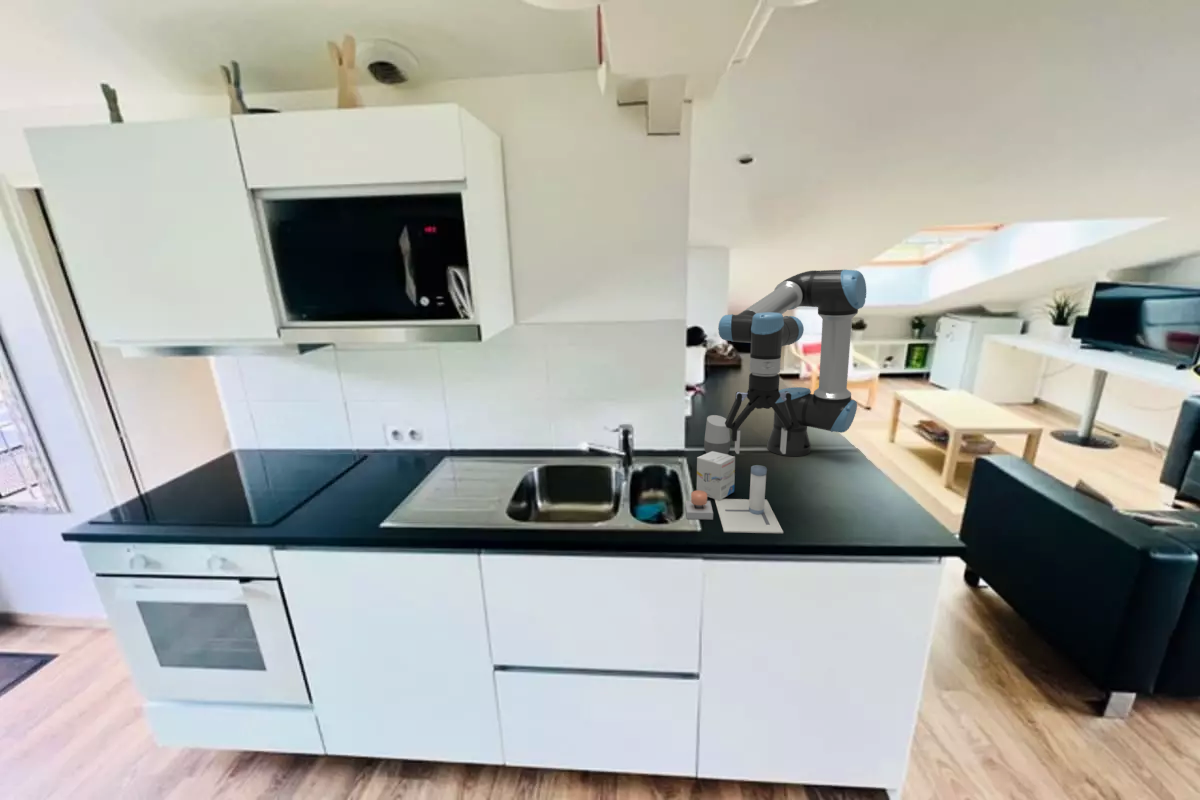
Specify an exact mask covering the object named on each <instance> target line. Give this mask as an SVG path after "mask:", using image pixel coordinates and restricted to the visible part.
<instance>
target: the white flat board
mask: <svg viewBox="0 0 1200 800" xmlns="http://www.w3.org/2000/svg"><path fill="white" fill-rule="evenodd" d="M714 502H715V505H716V509H717V513H718V516H719V520H720V523H721V526H722V530H723V533H746V534H747V533H749V534H750V533H752V534H754V533H755V534H784V530H783V529H782V527H781V525H780V522H779V521H778V518H777V516H776V515H775V512H774V511H773V510H772V507H771V505H770V503H769V501H768V499H765V501H764V513H763V514H753V513H751V512H749V499H746V498H743V499H742V498H723V499H722V500H717V499H714Z"/></svg>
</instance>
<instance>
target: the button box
mask: <svg viewBox="0 0 1200 800" xmlns="http://www.w3.org/2000/svg"><path fill="white" fill-rule="evenodd" d="M684 507H685V514H686V519H687V520H714V511H713V507H712V502H711V500H707V504H705V505H702V509H696V505H694V504H693V503H691V500H685V504H684Z"/></svg>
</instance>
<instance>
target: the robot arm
mask: <svg viewBox="0 0 1200 800" xmlns="http://www.w3.org/2000/svg"><path fill="white" fill-rule="evenodd" d="M866 282H867V281H866V278H865V275H863V273H862V272H861V271H859V270H855V269H853V270H852V269H828V270H807V271H803V272H801V273H800V272H799V273H797V274H795V275H793V276H791V277H789V278H786V279H784V280H783V281H781V282H779V284H777V285H776V287H775V288H774V290H773V291H772V292H770V293H768V294H767V295H766V296H764V297H762V298H761V299H760V300H759V299H758V301H756V302H755V303H753V304H752V305H750V306H749V307H747V308H746V309H744V310H742V311H741V312H740V313H738V314H733V313H732V314H725V315H723V316H722V317H721V318H720V320H719V323H718V326H717V327H718V335H719V337H720V338H721V339H722V340H723V341H729V342H730V341H731V342H732V343H733V342H735V343H748V344H749V343H750V356H749V359H750V360H749V369H748V370H749V372H750V373H749V375H748V389H747V391H746V392H740V391H736V392H735V398H734V399H735V400H734V402H733V404H732V406H731V409H730V411H729V413H728V415H727V418H725V419H726V422H725V425H726V427H727V428H729V430H731V433H730V439H731V440H732V442H734V451H735V454H737V455H740V449H741V448H740V447H741V446H740V445H741V444H740V443H741V429H740V427H741V425H743V423H744V422H745V420H746V419H747V418H748V417H749V415H750V414H751V413H752V412H753V411H754V410H755V409H757V410H758V409H759V410H761V409H766V410H768V409H772V410H773V427H772V430H771V433H770V434H769V437H768V440H767V443H766V449H767V450H768V451H769V452H771V453H774V454H776V455H780V456H785V457H804V456H806V455H809V454H810V453H811V449H812V448H811V446H812V444H811V440H810V438H809V433H808V427H809V428H813V429H814V428H815V429H818V430H822V431H823V430H824V431H828V432H831V433H833V432H834V433H835V432H836V433H841V434H842V433H845V432H847V431H848V430H849V429H850V428H851V426H852V424H853V422H854V419H855V417H856V414H857V410H858V404H857V403H858V402H857V401H856V400H855V399H852V392H851V391H850V390H849V389H848V377H849V376H848V375H849V365H850V364H849V363H850V351H851V350H850V348H851V335H852V325H853V318H854V317H855V316H856V315H858V312H859V309H862V308H863V307H864V305H865V304H866V298H867V283H866ZM798 307H799V308H800V307H802V308H803V307H806V308H807V307H810V308H817V315H818V316H819V317H820V318H821V319H822V322H821V324H822V325H821V339H820V340H821V344H820V357H819V358H820V359H819V378H818V387H817V388H816V389H815V390H813V393H811V389H810V388H809V387H802V386H801V387H797V386H796V387H794V386H793V387H786V388H782V389H780V378H781V376H780V375H779V373H780V372H781V357H782V349H783V348H782V347H786V346H790V345H793V344H794V343H796V342H798V341H799V340H800V339H802V336H803V335H804V331H805V330H804V323H803V322H802V321H801V319H799V318H798V317H796V316H791V315H789V316H788V315H785V316H783V314H785V312H787V311H792V310H794V309H797V308H798ZM746 398H747V400H748V402H747V404H746V405H745V407H744V409H743V410H742V411H741V412H740V413H739V415H738V416H737V413H738V412H739V409H740V408H741V406H742V402H744V400H745V399H746ZM736 416H737V417H736Z"/></svg>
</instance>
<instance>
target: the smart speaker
mask: <svg viewBox="0 0 1200 800" xmlns="http://www.w3.org/2000/svg"><path fill="white" fill-rule="evenodd" d="M726 419H727V418H726V417H723V416H722V415H716V414H711V415H708V416H707V417H706V423H705V424H706V425H705V432H704V433H705V434H704V439H703V440H704V442H703V448H704V452H705V454H706V453H709V452H711V451H714V452H718V453H723V454H727V455H729V452H730V449H731V433H730V428H727V427H726V425H725V422H726Z"/></svg>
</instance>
